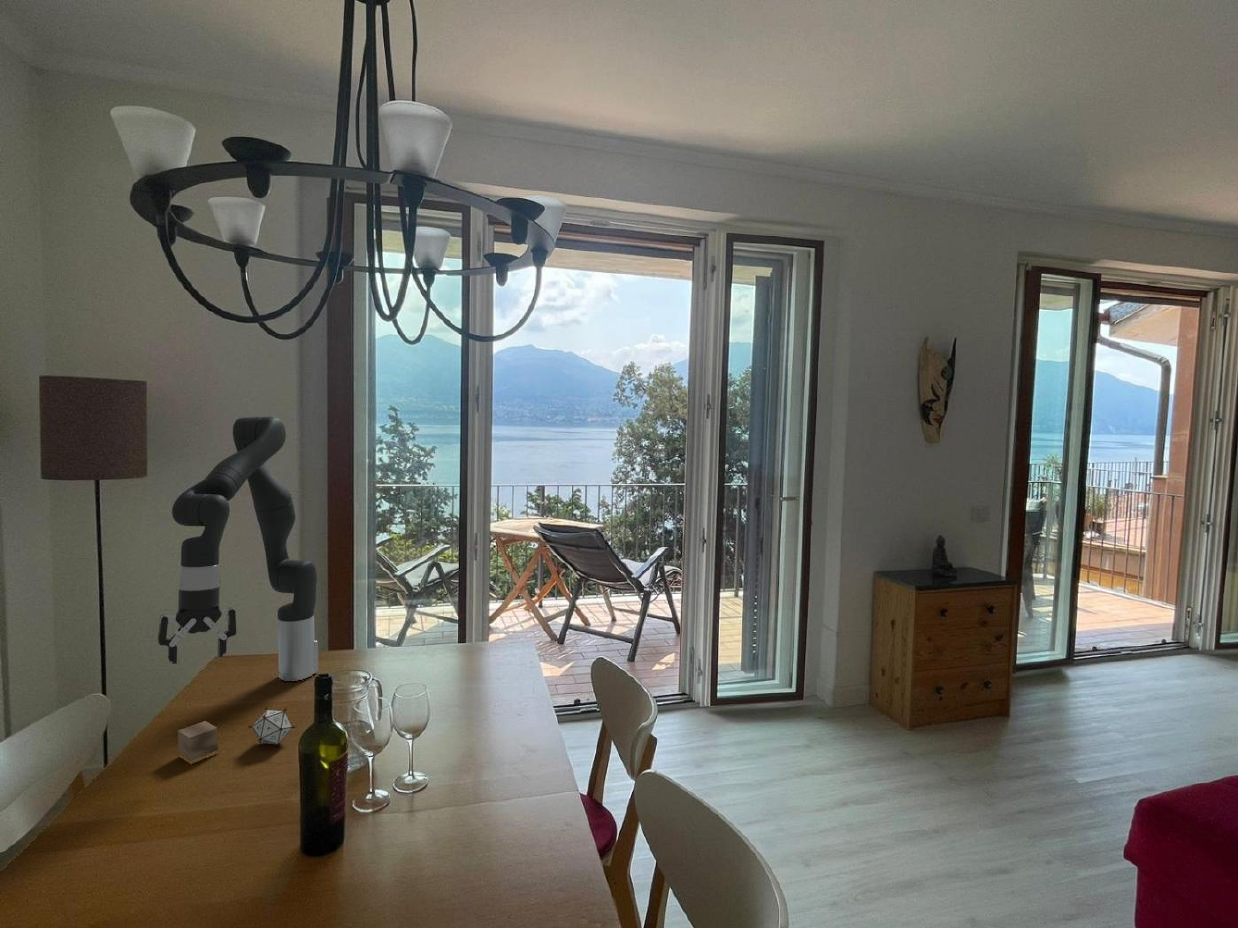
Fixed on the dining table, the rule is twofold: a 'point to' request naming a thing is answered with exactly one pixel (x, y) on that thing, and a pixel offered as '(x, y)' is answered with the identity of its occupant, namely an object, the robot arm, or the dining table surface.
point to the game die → (272, 726)
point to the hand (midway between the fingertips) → (197, 659)
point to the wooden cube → (197, 740)
